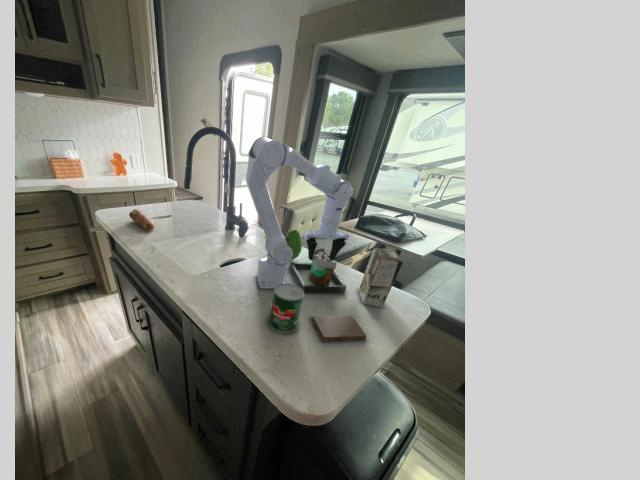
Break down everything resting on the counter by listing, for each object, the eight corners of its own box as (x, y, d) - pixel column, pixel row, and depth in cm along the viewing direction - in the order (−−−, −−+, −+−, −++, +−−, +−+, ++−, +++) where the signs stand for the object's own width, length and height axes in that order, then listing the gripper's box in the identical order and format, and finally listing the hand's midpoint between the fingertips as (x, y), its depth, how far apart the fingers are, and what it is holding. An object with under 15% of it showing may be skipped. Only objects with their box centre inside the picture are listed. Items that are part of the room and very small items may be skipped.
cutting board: (322, 341, 71) (323, 337, 70) (311, 319, 78) (312, 315, 77) (364, 340, 72) (366, 336, 71) (350, 318, 79) (351, 315, 78)
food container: (302, 271, 102) (307, 247, 96) (317, 271, 102) (324, 247, 97) (312, 289, 92) (318, 263, 86) (329, 289, 92) (337, 263, 87)
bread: (142, 218, 138) (140, 207, 135) (156, 231, 126) (155, 219, 123) (129, 220, 135) (127, 209, 131) (143, 233, 122) (141, 221, 119)
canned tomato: (270, 332, 72) (275, 299, 66) (267, 314, 79) (272, 282, 72) (299, 333, 72) (307, 300, 66) (294, 315, 79) (301, 283, 73)
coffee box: (383, 307, 85) (404, 262, 76) (362, 304, 86) (380, 258, 77) (377, 292, 93) (395, 249, 83) (358, 289, 93) (374, 246, 84)
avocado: (291, 252, 115) (296, 225, 108) (303, 260, 109) (309, 232, 102) (276, 255, 112) (280, 227, 105) (287, 263, 106) (292, 234, 99)
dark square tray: (302, 293, 89) (303, 286, 88) (289, 268, 103) (290, 262, 102) (344, 292, 91) (346, 286, 90) (326, 268, 105) (327, 263, 104)
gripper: (313, 223, 80) (304, 264, 88) (358, 225, 82) (345, 264, 90) (305, 216, 86) (298, 254, 94) (348, 217, 88) (337, 255, 96)
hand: (320, 259), depth 92 cm, fingers open, 7 cm apart
